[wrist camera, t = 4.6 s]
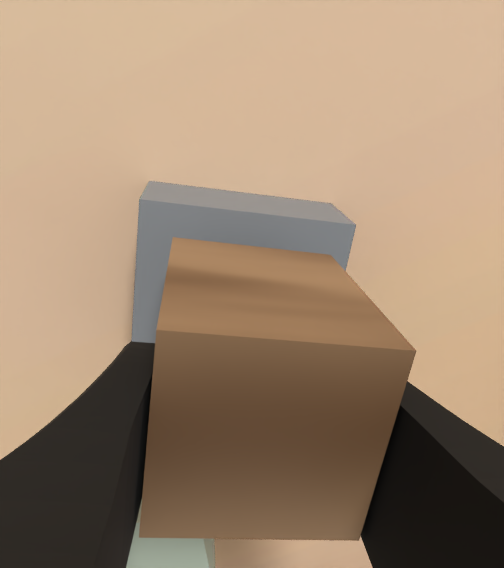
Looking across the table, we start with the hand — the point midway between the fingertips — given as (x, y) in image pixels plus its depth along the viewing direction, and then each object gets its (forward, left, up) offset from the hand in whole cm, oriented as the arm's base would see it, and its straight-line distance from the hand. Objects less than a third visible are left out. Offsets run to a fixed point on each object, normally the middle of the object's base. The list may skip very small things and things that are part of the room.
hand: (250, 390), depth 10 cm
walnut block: (0, 0, -3) cm, 3 cm away
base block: (0, 0, -7) cm, 7 cm away
